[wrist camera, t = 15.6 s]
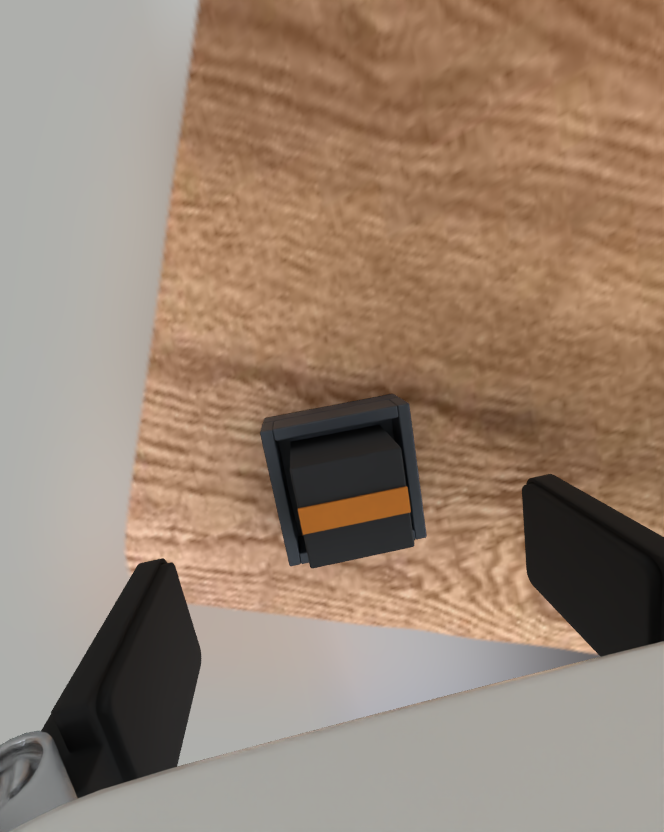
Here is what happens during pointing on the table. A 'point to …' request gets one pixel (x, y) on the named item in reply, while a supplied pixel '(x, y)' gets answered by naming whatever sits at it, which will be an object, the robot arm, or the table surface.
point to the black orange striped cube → (351, 495)
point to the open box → (331, 420)
